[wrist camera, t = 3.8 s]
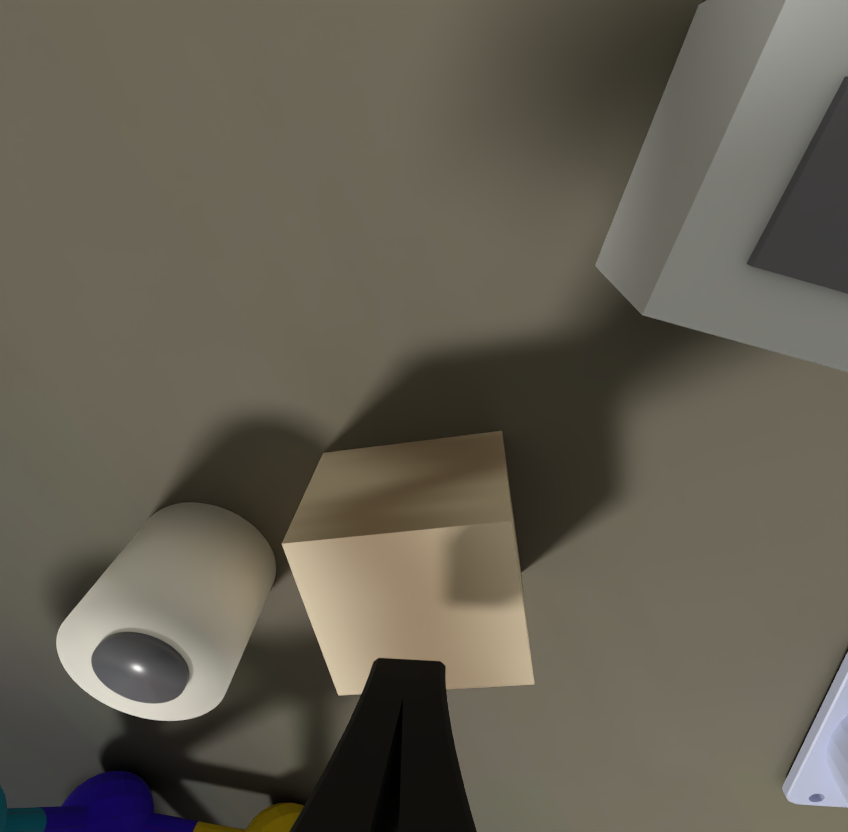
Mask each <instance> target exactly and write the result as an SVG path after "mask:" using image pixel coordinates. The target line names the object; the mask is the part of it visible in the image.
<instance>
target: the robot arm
mask: <svg viewBox="0 0 848 832" xmlns="http://www.w3.org/2000/svg"><path fill="white" fill-rule="evenodd" d="M782 789H783V791H784V793H785V795H786V798H787V799H788V801H790V802H792V803H795V804H804V805H819V806H834V807H848V652H847V654H846V656H845V658H844V660H843V662H842V664H841V666H840V668H839V671H838V673H837V675H836V677H835V679H834V681H833V683H832V685H831V687H830V689H829V691H828V693H827V695H826V697H825V700H824V702H823V704H822V706H821V708H820V710H819V712H818V714H817V716H816V718H815V720H814V722H813V724H812V726H811V729H810V731H809V733H808V735H807V737H806V739H805V741H804V743H803V745H802V747H801V749H800V751H799V753H798V755H797V758H796V760H795V762H794V764H793V766H792V768H791V770H790V772H789V774H788V776H787V778H786V780H785V782H784V784H783V788H782ZM289 832H477V831H476V828H475V824H474V821H473V818H472V814H471V811H470V807H469V803H468V799H467V796H466V792H465V788H464V784H463V780H462V776H461V771H460V767H459V763H458V758H457V754H456V750H455V745H454V740H453V735H452V729H451V723H450V717H449V711H448V703H447V694H446V666H445V665H444V664H443V663H442V662H441V661H428V660H410V659H392V658H378V659H376V660H375V661H373V664H372V667H371V670H370V673H369V676H368V679H367V681H366V684H365V687H364V689H363V691H362V694H361V696H360V699H359V701H358V703H357V706H356V708H355V710H354V712H353V714H352V716H351V719H350V721H349V723H348V725H347V727H346V729H345V731H344V733H343V735H342V737H341V739H340V741H339V743H338V745H337V747H336V749H335V751H334V753H333V755H332V757H331V759H330V761H329V763H328V765H327V767H326V768H325V770H324V772H323V774H322V776H321V778H320V779H319V781H318V783H317V785H316V786H315V788H314V790H313V792H312V793H311V795H310V797H309V799H308V800H307V802H306V804H305V806H304V807H303V809H302V811H301V813H300V814H299V816H298V818H297V819H296V821H295V823H294V824H293V826H292V828H291V829H290V831H289Z"/></svg>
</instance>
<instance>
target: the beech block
mask: <svg viewBox="0 0 848 832" xmlns="http://www.w3.org/2000/svg"><path fill="white" fill-rule="evenodd" d="M282 546H283V549H284V552H285V554H286V557H287V560H288V562H289V565H290V568H291V570H292V573H293V576H294V578H295V581H296V584H297V586H298V589H299V592H300V594H301V597H302V600H303V602H304V605H305V608H306V610H307V613H308V616H309V618H310V621H311V624H312V626H313V629H314V632H315V634H316V637H317V640H318V642H319V645H320V648H321V651H322V653H323V656H324V659H325V661H326V664H327V667H328V669H329V672H330V675H331V677H332V680H333V683H334V685H335V688H336V691H337V693H338V695H355V694H362V691H363V689H364V687H365V684H366V681H367V679H368V676H369V673H370V670H371V667H372V664H373V661H375V660H376V659H378V658H392V659H410V660H428V661H441V662H442V663H443V664H444V665H445V666H446V689H461V688H479V687H497V686H514V685H532V684H534V676H533V668H532V659H531V651H530V642H529V634H528V626H527V617H526V609H525V600H524V592H523V584H522V575H521V568H520V560H519V553H518V545H517V538H516V531H515V523H514V516H513V508H512V501H511V494H510V486H509V479H508V471H507V464H506V457H505V449H504V442H503V435H502V431H495V432H487V433H479V434H471V435H463V436H455V437H447V438H439V439H431V440H423V441H415V442H407V443H399V444H391V445H383V446H375V447H367V448H359V449H351V450H342V451H334V452H326V453H323V454H322V457H321V459H320V461H319V463H318V465H317V467H316V470H315V472H314V474H313V476H312V478H311V481H310V483H309V485H308V487H307V489H306V492H305V494H304V496H303V498H302V500H301V502H300V505H299V507H298V509H297V511H296V513H295V516H294V518H293V520H292V522H291V524H290V527H289V529H288V531H287V533H286V535H285V537H284V540H283V542H282Z"/></svg>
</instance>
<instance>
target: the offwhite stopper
mask: <svg viewBox="0 0 848 832" xmlns="http://www.w3.org/2000/svg"><path fill="white" fill-rule="evenodd" d="M275 576H276V561H275V557H274V554H273V551H272V549H271V547H270V545H269V544H268V542H267V540H266V539H265V538H264V536H263V535H262V534H261V533H260V532H259V531H258V530H257V529H256V528H255V527H254V526H253V525H252V524H251V523H249V522H248V521H247V520H245V519H244V518H242V517H241V516H239V515H237V514H235V513H233V512H231V511H229V510H227V509H224V508H221V507H218V506H215V505H211V504H205V503H196V502H186V503H178V504H174V505H170V506H167V507H165V508H162V509H160V510H159V511H157V512H156V513H154V514H153V515H152V516H151V517H150V518H149V519H148V520H147V521H146V522H145V524H144V525H143V526H142V527H141V529H140V530H139V531H138V532H137V533H136V535H135V536H134V537H133V538H132V539H131V541H130V542H129V543H128V544H127V545H126V547H125V548H124V549H123V550H122V551H121V553H120V554H119V555H118V556H117V557H116V559H115V560H114V561H113V562H112V563H111V565H110V566H109V567H108V568H107V570H106V571H105V572H104V573H103V574H102V576H101V577H100V578H99V579H98V580H97V582H96V583H95V584H94V585H93V586H92V588H91V589H90V590H89V591H88V592H87V594H86V595H85V596H84V597H83V598H82V600H81V601H80V602H79V603H78V605H77V606H76V607H75V608H74V609H73V611H72V612H71V613H70V614H69V615H68V617H67V618H66V619H65V620H64V622H63V623H62V624H61V626H60V628H59V630H58V634H57V641H56V646H57V651H58V655H59V658H60V661H61V663H62V665H63V666H64V668H65V670H66V671H67V673H68V674H69V675H70V677H71V678H72V679H73V680H74V681H75V682H76V683H77V684H78V685H79V686H80V687H81V688H82V689H83V690H85V691H86V692H87V693H89V694H90V695H91V696H93V697H94V698H96V699H97V700H99V701H100V702H102V703H104V704H106V705H108V706H110V707H112V708H114V709H117V710H119V711H121V712H124V713H127V714H130V715H133V716H137V717H141V718H146V719H151V720H160V721H178V720H186V719H192V718H195V717H198V716H201V715H203V714H205V713H208V712H209V711H211V710H212V709H214V708H215V707H216V706H217V705H218V704H219V703H220V702H221V701H222V699H223V698H224V696H225V694H226V692H227V689H228V687H229V685H230V682H231V680H232V678H233V675H234V673H235V671H236V668H237V666H238V664H239V661H240V659H241V657H242V655H243V652H244V650H245V648H246V645H247V643H248V641H249V638H250V636H251V634H252V631H253V629H254V627H255V624H256V622H257V620H258V618H259V615H260V613H261V611H262V608H263V606H264V604H265V601H266V599H267V597H268V594H269V592H270V590H271V587H272V585H273V583H274V580H275Z"/></svg>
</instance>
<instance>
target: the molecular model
mask: <svg viewBox="0 0 848 832" xmlns="http://www.w3.org/2000/svg"><path fill="white" fill-rule="evenodd" d="M303 807H304V806H303V805H300V804H296V803H278V804H275V805H272V806H269V807H268V808H266V809H264V810H263V811H261V812H260V813H259V814H258V815H257V816H256V817H255V818H254V819H253V820H252V822H251V823H250V825H249V826H248V828H247V829H246V830H243V829H238V828H232V827H227V826H222V825H216V824H211V823H205V822H200V821H195V820H189V819H184V818H179V817H173V816H168V815H163V814H157V813H154V803H153V798H152V794H151V791H150V789H149V787H148V785H147V784H146V783H145V782H144V781H143V780H142V778H140V777H139V776H137V775H135V774H133V773H130V772H126V771H110V772H106V773H102V774H98V775H96V776H94V777H92V778H90V779H88V780H86V781H85V782H84V783H82V784H81V785H79V786H78V787H77V788H76V789H75V790H74V791H73V792H72V793H71V794H70V795H69V796H68V797H67V799H66V800H65V802H64V803H63V805H62V806H61V807H37V808H10V809H7V804H6V798H5V794H4V792H3V790H2V788H1V786H0V832H289V831H290V829H291V828H292V826H293V824H294V823H295V821H296V819H297V818H298V816H299V814H300V813H301V811H302V809H303Z"/></svg>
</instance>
